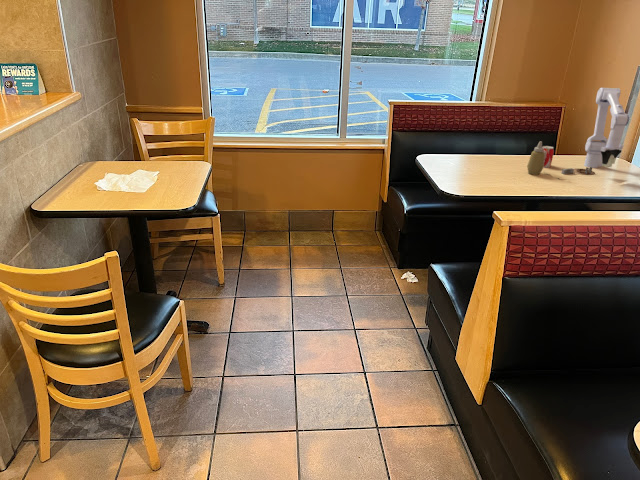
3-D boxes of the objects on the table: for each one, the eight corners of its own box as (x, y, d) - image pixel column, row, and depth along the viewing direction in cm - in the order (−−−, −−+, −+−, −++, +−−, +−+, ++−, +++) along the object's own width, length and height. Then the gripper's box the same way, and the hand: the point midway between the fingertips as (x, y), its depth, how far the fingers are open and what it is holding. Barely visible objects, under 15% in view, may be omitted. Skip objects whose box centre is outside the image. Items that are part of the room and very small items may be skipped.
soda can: (551, 169, 266) (556, 149, 261) (538, 169, 267) (542, 148, 262) (548, 166, 272) (553, 145, 267) (535, 165, 273) (540, 145, 268)
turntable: (582, 169, 266) (584, 161, 265) (599, 175, 256) (602, 168, 254) (554, 172, 261) (555, 164, 259) (570, 179, 251) (572, 171, 249)
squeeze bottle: (541, 172, 261) (549, 140, 253) (541, 176, 255) (548, 144, 247) (526, 170, 264) (533, 138, 256) (525, 174, 258) (532, 142, 250)
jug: (599, 165, 250) (602, 154, 247) (606, 164, 251) (609, 153, 249) (609, 168, 245) (612, 157, 242) (615, 167, 246) (619, 156, 243)
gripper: (612, 140, 236) (605, 167, 242) (631, 138, 241) (623, 163, 247) (600, 137, 242) (593, 163, 247) (618, 135, 247) (611, 160, 253)
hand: (607, 163), depth 248 cm, fingers closed on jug, 4 cm apart
